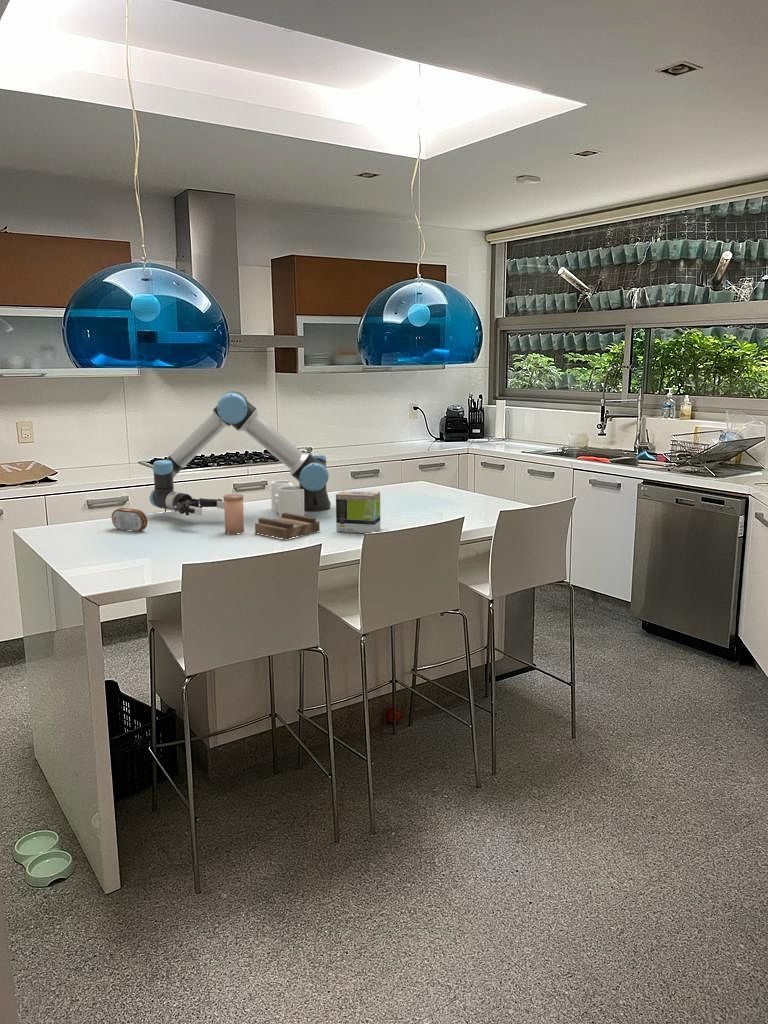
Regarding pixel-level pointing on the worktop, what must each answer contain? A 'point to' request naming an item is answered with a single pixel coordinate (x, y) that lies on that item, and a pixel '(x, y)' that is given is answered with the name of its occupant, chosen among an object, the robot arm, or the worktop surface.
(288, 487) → the bracket
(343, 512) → the tea box
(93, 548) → the worktop surface
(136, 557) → the worktop surface
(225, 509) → the terracotta canister
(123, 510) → the tin
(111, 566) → the worktop surface
